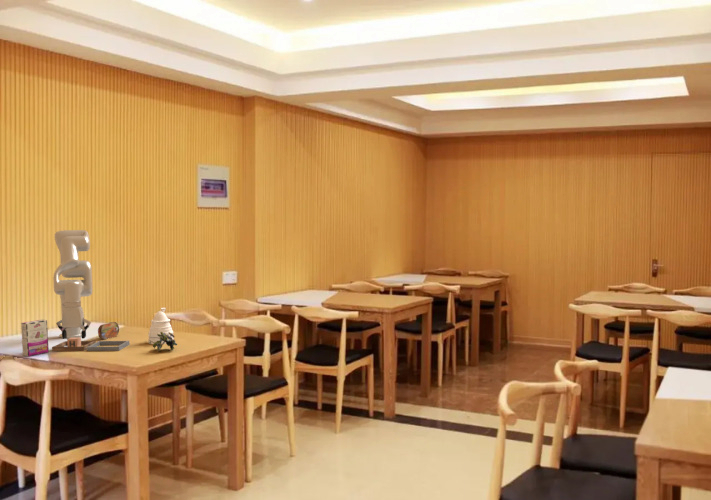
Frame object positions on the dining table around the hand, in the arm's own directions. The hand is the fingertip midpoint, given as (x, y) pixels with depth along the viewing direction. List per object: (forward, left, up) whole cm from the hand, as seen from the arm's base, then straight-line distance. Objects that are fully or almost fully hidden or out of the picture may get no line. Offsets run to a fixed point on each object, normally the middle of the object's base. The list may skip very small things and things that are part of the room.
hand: (74, 338), depth 349 cm
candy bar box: (+15, -13, -5) cm, 20 cm away
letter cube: (0, 0, -5) cm, 5 cm away
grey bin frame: (+1, +18, -5) cm, 18 cm away
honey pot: (-13, +41, -5) cm, 43 cm away
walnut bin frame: (0, 0, -5) cm, 5 cm away
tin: (-27, +8, -5) cm, 29 cm away
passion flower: (+9, +49, -5) cm, 50 cm away
